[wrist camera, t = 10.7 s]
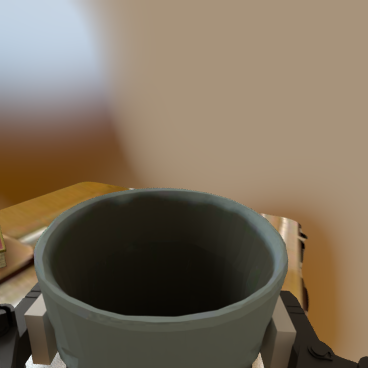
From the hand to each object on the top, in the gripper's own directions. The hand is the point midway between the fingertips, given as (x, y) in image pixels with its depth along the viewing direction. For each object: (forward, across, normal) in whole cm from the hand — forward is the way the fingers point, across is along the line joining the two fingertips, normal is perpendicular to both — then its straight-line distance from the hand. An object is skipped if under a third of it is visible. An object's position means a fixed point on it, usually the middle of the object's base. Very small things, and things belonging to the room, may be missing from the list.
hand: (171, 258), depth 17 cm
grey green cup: (-5, 0, -7) cm, 9 cm away
